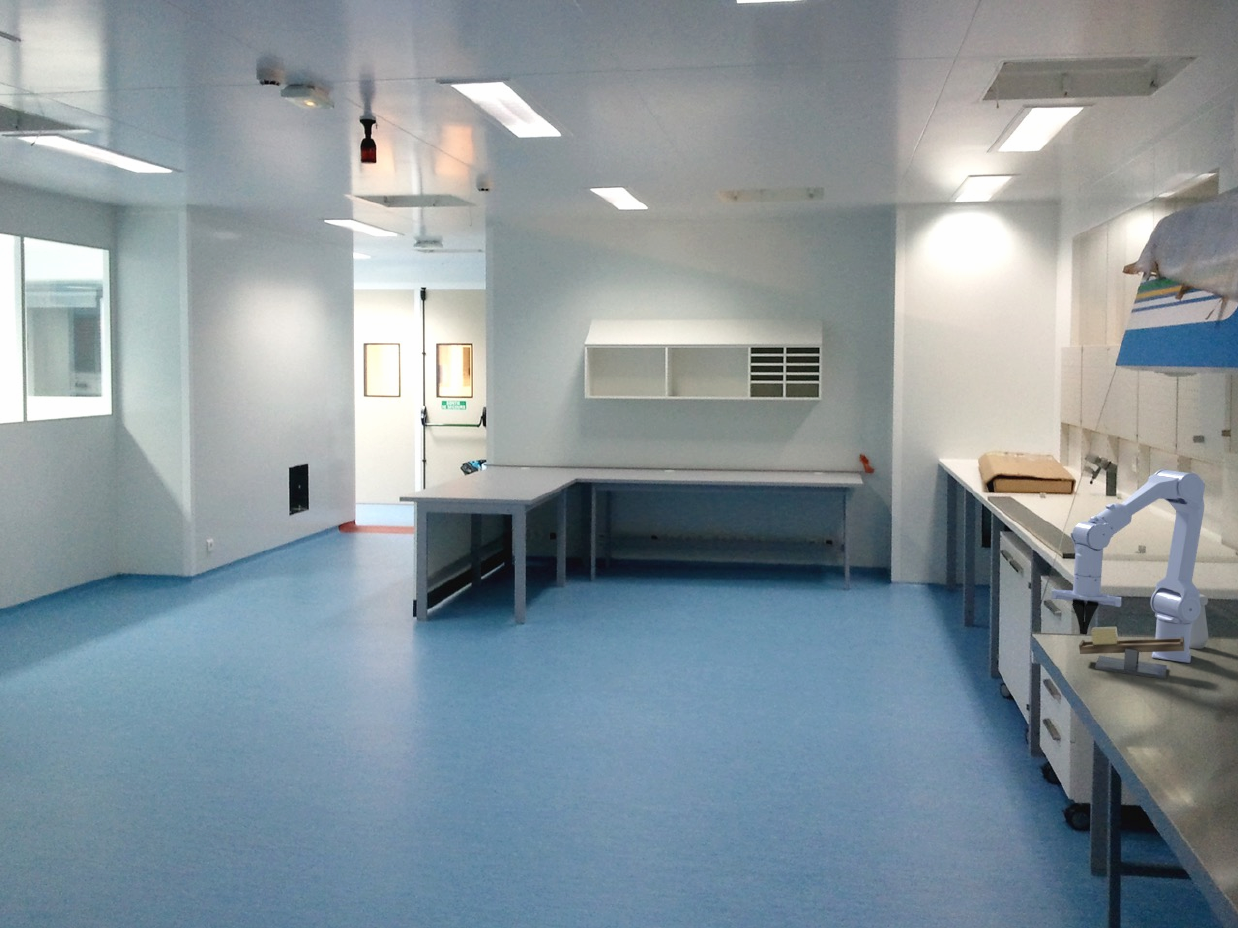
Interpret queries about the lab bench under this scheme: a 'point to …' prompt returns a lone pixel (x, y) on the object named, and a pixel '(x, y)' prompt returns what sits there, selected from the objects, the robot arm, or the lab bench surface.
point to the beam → (1135, 646)
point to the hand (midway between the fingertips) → (1083, 633)
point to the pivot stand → (1131, 665)
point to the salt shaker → (1199, 627)
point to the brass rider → (1104, 636)
